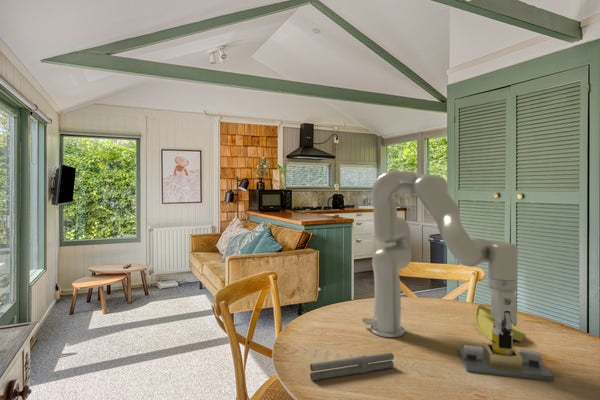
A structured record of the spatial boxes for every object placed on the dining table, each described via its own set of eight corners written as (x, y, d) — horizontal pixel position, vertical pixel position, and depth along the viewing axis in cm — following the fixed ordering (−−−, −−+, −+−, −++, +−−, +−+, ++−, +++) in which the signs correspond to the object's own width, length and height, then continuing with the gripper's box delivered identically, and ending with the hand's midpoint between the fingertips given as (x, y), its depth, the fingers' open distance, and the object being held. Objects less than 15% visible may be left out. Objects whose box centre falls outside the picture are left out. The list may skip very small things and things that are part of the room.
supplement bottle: (491, 349, 111) (491, 317, 111) (511, 352, 109) (511, 320, 109) (492, 356, 106) (492, 323, 106) (513, 359, 104) (514, 326, 104)
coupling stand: (466, 371, 104) (466, 356, 104) (458, 350, 118) (458, 337, 117) (553, 381, 98) (553, 365, 98) (534, 358, 112) (534, 344, 112)
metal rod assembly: (312, 383, 99) (312, 365, 98) (309, 378, 101) (309, 361, 101) (395, 370, 106) (395, 353, 105) (390, 365, 108) (390, 349, 108)
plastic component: (528, 336, 123) (503, 324, 123) (518, 354, 124) (493, 342, 124) (497, 312, 143) (475, 302, 143) (488, 328, 144) (466, 318, 143)
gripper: (526, 292, 98) (526, 357, 99) (507, 277, 115) (507, 333, 115) (496, 290, 100) (495, 354, 100) (482, 276, 117) (481, 331, 117)
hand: (502, 342), depth 108 cm, fingers closed on supplement bottle, 5 cm apart
